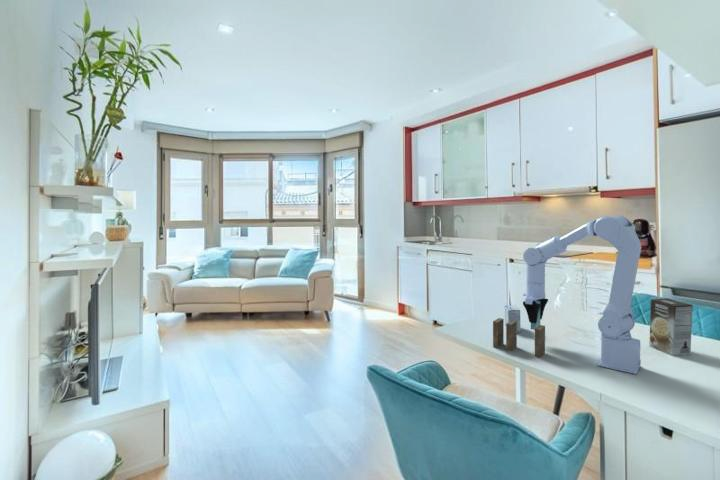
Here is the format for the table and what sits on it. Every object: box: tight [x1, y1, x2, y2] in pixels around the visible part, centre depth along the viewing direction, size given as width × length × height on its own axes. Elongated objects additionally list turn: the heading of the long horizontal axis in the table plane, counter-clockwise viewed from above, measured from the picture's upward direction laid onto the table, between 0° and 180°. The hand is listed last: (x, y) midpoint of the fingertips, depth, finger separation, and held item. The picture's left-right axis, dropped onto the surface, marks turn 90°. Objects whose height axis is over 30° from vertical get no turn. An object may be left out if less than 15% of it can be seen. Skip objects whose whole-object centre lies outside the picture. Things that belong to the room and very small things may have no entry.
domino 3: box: [534, 324, 546, 359], centre depth 119 cm, size 2×5×9 cm, turn 137°
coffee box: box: [649, 297, 694, 357], centre depth 119 cm, size 9×6×16 cm
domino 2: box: [530, 301, 541, 331], centre depth 129 cm, size 2×5×9 cm, turn 137°
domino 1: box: [505, 320, 518, 352], centre depth 125 cm, size 2×5×9 cm, turn 137°
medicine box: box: [504, 304, 522, 333], centre depth 145 cm, size 8×4×9 cm, turn 168°
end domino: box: [492, 317, 505, 349], centre depth 128 cm, size 2×5×9 cm, turn 138°
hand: (535, 320), depth 129 cm, fingers closed on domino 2, 5 cm apart
